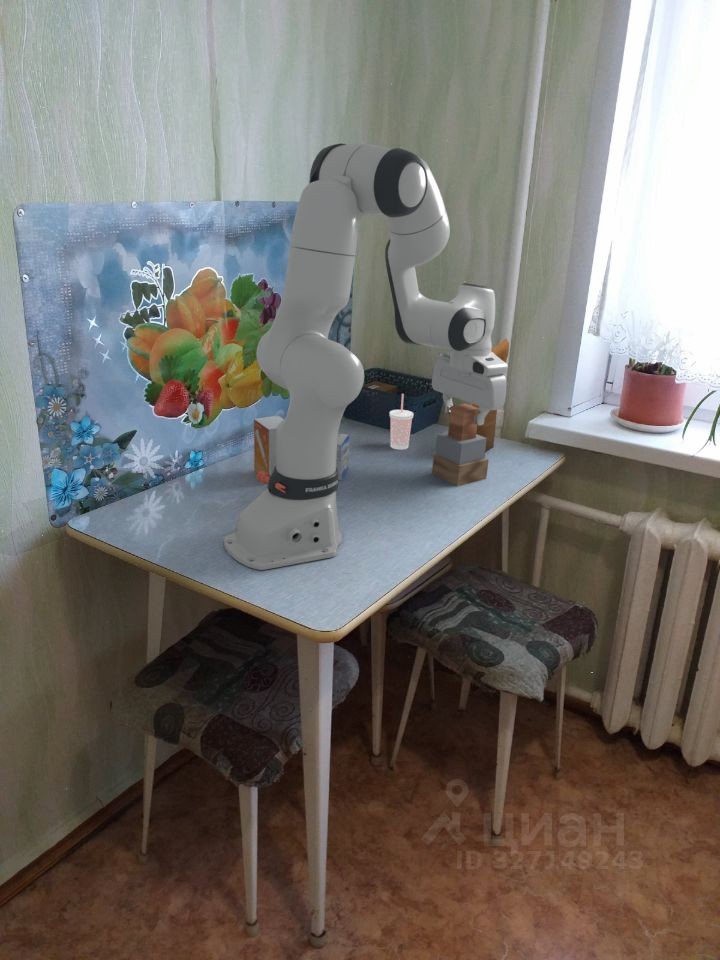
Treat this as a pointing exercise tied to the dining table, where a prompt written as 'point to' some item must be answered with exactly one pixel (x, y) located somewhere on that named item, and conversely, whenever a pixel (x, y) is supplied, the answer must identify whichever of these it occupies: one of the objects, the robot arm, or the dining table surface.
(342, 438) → the medicine box
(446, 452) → the tower top
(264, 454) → the small box
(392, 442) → the beverage cup
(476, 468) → the tower base
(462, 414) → the cherry block
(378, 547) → the dining table surface
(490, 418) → the pancake mix bag
